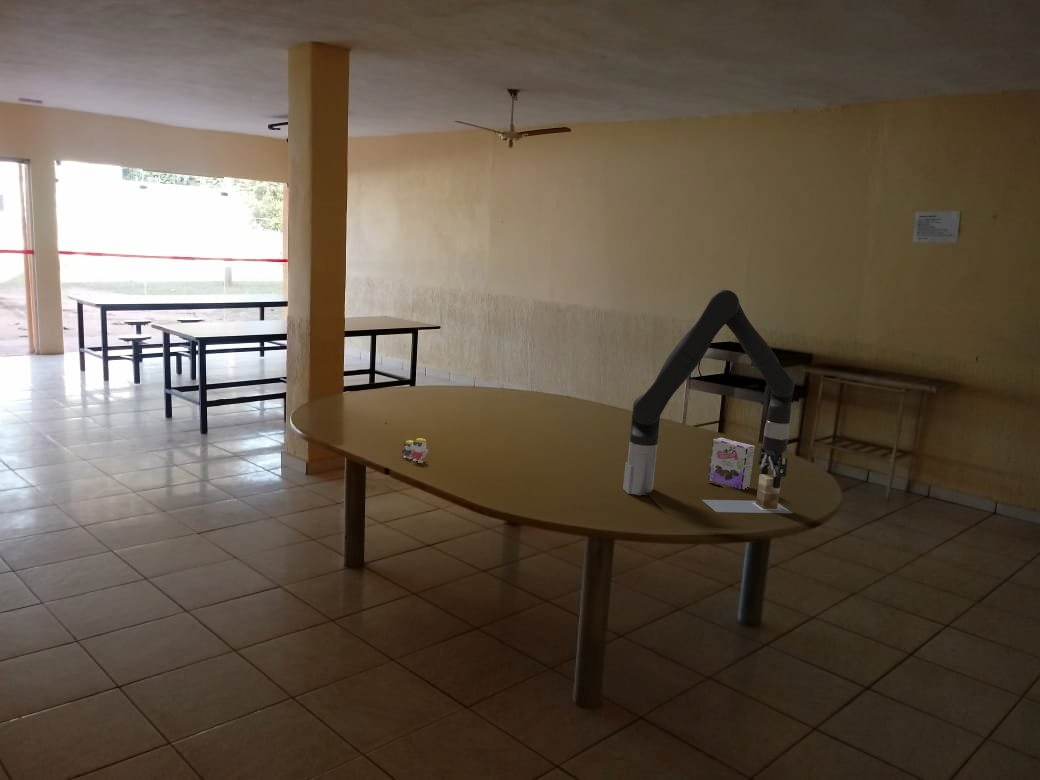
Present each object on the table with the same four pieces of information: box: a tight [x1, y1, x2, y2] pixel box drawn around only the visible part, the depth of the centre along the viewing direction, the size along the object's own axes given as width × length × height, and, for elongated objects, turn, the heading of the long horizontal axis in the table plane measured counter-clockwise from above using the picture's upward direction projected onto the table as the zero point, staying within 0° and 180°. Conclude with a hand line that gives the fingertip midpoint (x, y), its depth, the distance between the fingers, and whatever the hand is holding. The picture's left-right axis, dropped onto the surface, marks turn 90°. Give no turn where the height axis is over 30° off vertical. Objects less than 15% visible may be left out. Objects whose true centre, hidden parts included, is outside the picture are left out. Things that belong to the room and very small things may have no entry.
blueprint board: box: [701, 499, 793, 514], centre depth 256 cm, size 26×12×1 cm, turn 100°
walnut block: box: [755, 488, 780, 509], centre depth 257 cm, size 5×5×5 cm
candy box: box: [707, 437, 756, 490], centre depth 280 cm, size 14×6×16 cm, turn 45°
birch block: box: [757, 473, 782, 495], centre depth 256 cm, size 5×5×5 cm
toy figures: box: [401, 437, 429, 464], centre depth 286 cm, size 12×4×8 cm, turn 46°
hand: (769, 483), depth 256 cm, fingers open, 8 cm apart
